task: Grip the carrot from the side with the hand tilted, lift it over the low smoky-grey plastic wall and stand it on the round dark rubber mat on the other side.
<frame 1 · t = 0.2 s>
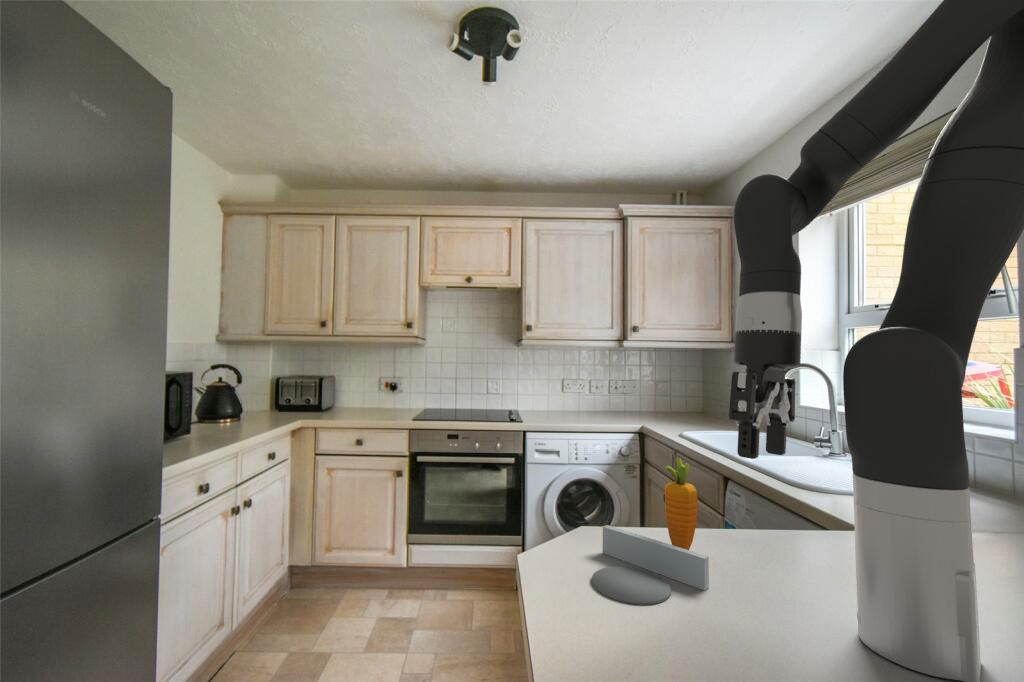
hand: (762, 455, 57), 18 cm above the counter, tool pointing down, fingers open, 8 cm apart
rest mat: (630, 585, 58), on the counter
carrot: (680, 560, 68), on the counter
low wall: (651, 569, 64), on the counter
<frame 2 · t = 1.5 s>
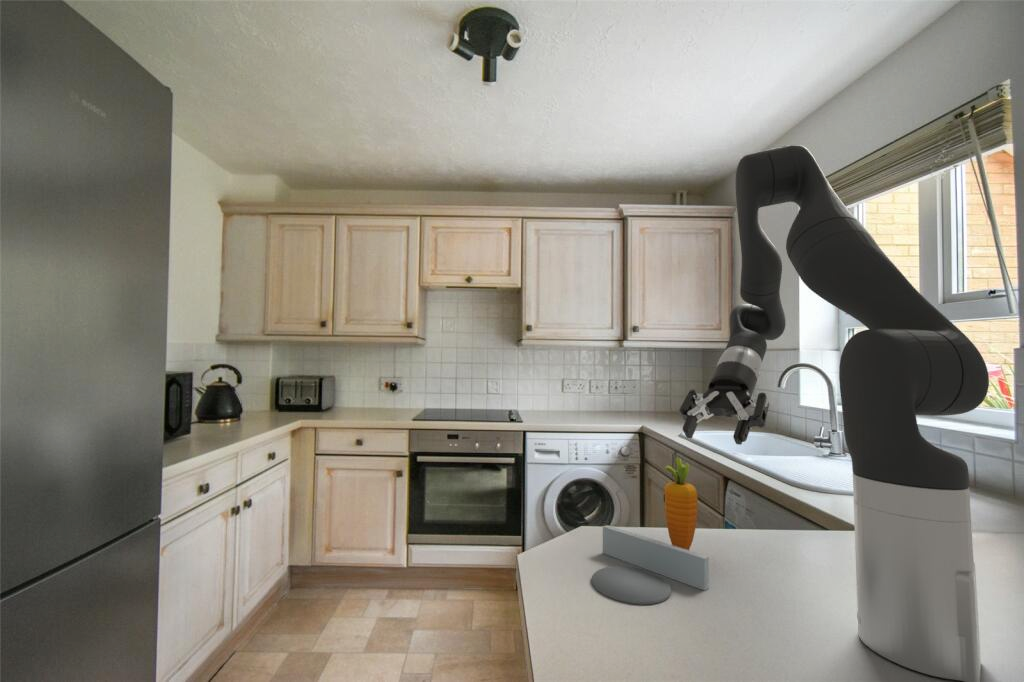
hand: (711, 438, 77), 18 cm above the counter, tool tilted 45°, fingers open, 8 cm apart
nothing on the counter moved.
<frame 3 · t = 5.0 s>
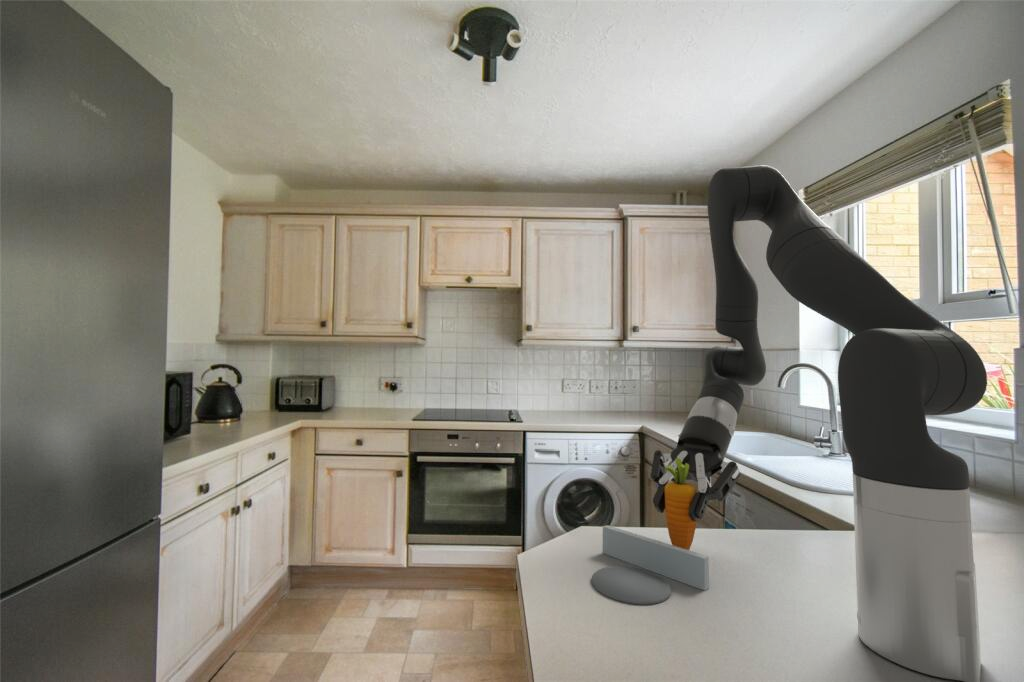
hand: (675, 513, 67), 7 cm above the counter, tool tilted 45°, fingers closed on carrot, 5 cm apart
carrot: (680, 560, 68), on the counter, touching gripper
when the fingers open (8 cm above the counter, at t = 10.4 s): carrot stays where it is, resting on rest mat.
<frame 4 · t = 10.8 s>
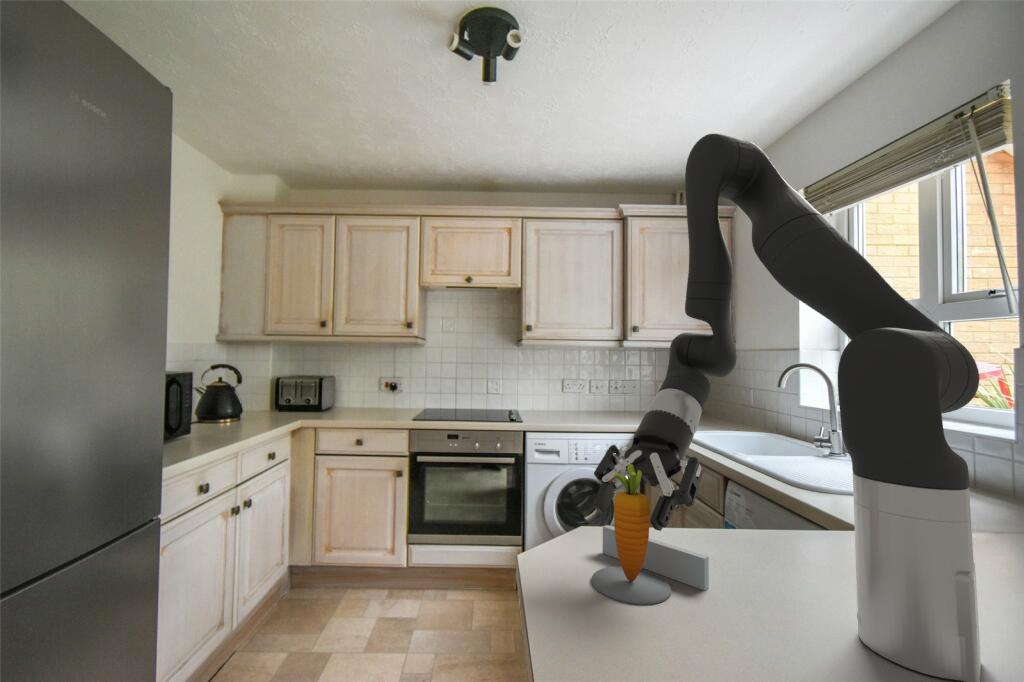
hand: (625, 518, 58), 9 cm above the counter, tool tilted 45°, fingers open, 8 cm apart
carrot: (630, 583, 59), resting on rest mat
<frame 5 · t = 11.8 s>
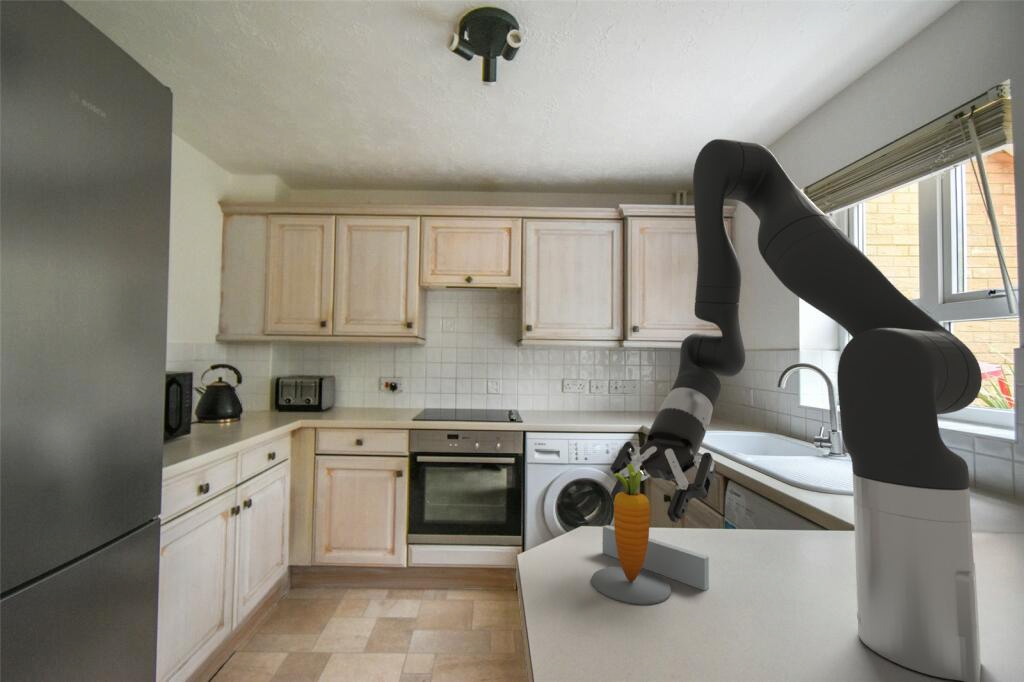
hand: (642, 510, 61), 9 cm above the counter, tool tilted 45°, fingers open, 8 cm apart
nothing on the counter moved.
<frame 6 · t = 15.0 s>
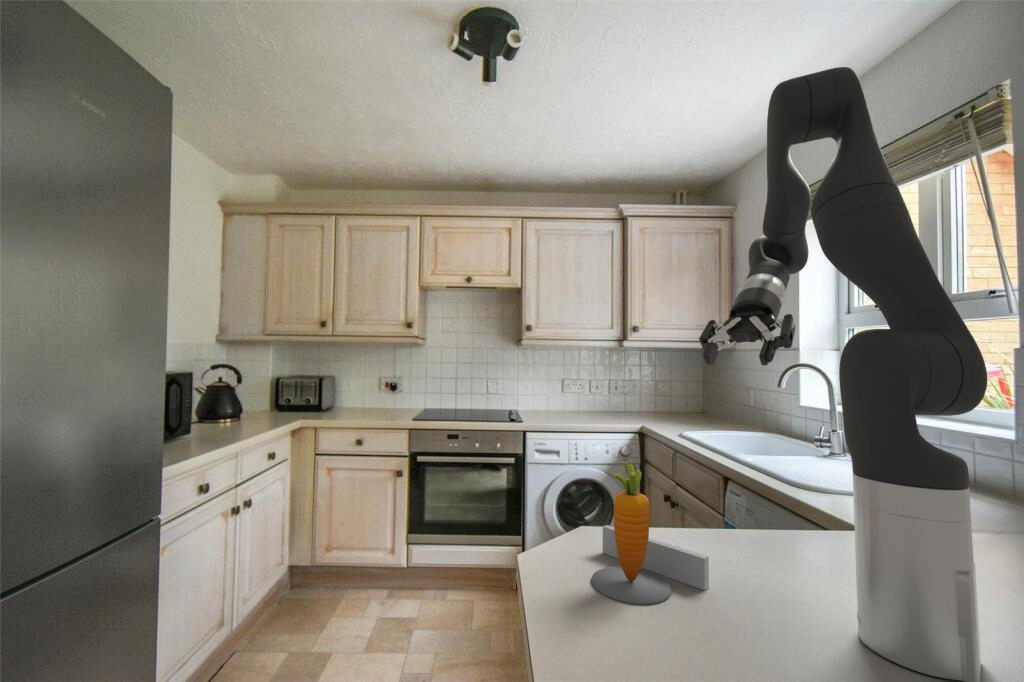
hand: (734, 361, 73), 31 cm above the counter, tool tilted 45°, fingers open, 8 cm apart
nothing on the counter moved.
at the end: carrot inside the target area on the rest mat (0.2 cm from its centre), point 0.2 cm above the rest mat's base; carrot tilted 0°; the gripper is holding nothing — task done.
